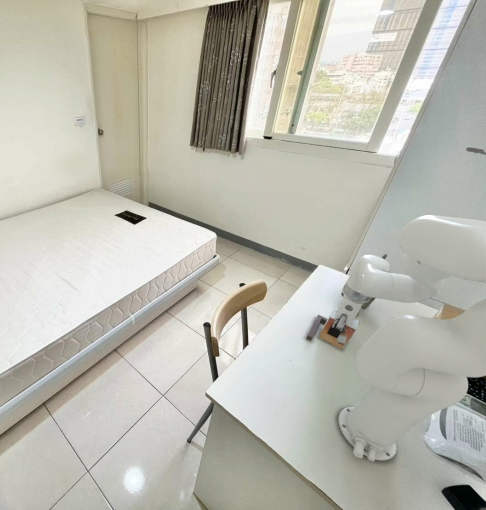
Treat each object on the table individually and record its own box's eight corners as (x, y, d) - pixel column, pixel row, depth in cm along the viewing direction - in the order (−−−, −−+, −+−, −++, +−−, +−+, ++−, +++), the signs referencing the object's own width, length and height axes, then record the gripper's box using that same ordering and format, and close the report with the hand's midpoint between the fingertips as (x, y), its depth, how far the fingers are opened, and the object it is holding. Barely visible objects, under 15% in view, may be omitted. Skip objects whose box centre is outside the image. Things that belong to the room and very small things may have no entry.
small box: (317, 337, 98) (329, 316, 92) (322, 328, 101) (333, 308, 95) (342, 350, 93) (356, 330, 87) (346, 341, 97) (360, 320, 91)
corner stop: (341, 357, 91) (343, 353, 90) (305, 338, 97) (307, 335, 96) (349, 333, 99) (351, 330, 98) (316, 318, 105) (318, 314, 104)
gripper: (367, 311, 79) (341, 349, 88) (375, 283, 89) (352, 320, 99) (337, 299, 83) (316, 337, 93) (349, 273, 93) (329, 310, 103)
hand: (335, 328), depth 96 cm, fingers open, 7 cm apart
